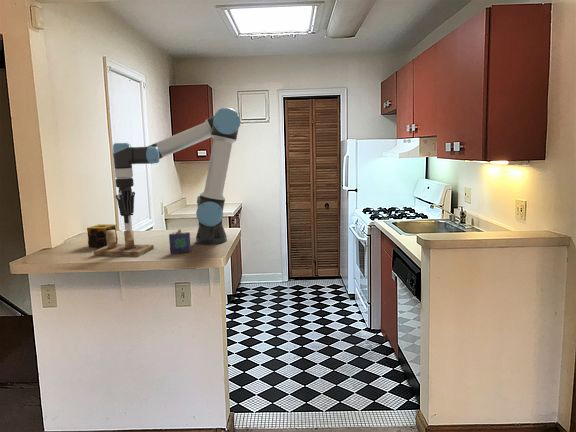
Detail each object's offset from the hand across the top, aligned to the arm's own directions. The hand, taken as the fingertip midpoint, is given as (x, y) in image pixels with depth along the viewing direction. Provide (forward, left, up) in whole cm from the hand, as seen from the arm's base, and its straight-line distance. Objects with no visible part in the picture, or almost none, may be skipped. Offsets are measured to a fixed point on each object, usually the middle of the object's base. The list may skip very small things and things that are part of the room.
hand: (128, 229), depth 213 cm
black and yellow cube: (+21, -12, -11) cm, 26 cm away
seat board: (+3, 0, -10) cm, 11 cm away
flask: (-24, -1, -11) cm, 26 cm away
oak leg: (0, 0, -10) cm, 10 cm away
